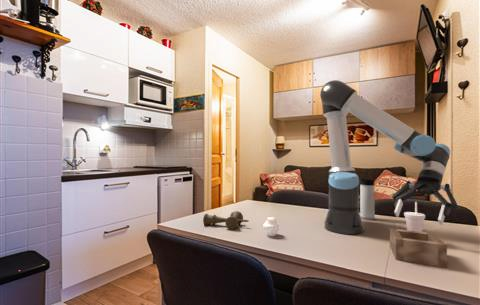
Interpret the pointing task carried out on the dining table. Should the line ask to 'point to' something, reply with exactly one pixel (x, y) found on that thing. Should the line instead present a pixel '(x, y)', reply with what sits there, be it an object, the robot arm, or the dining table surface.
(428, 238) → the brown open square box
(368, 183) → the travel mug
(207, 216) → the kendama
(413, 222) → the smoothie
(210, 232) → the dining table surface
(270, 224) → the white vase
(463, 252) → the dining table surface
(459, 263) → the dining table surface
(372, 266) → the dining table surface
